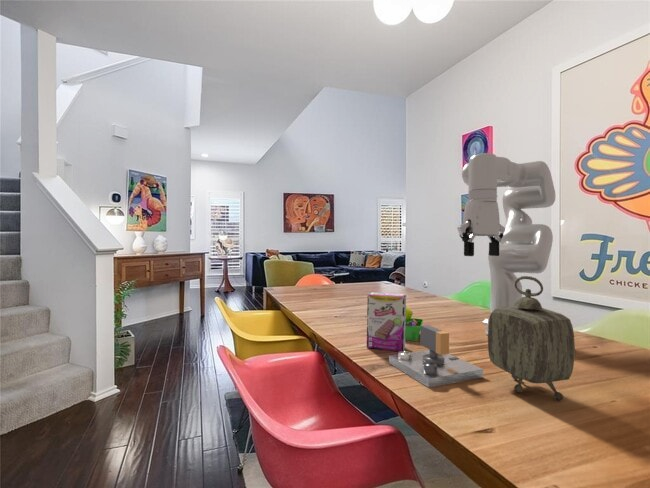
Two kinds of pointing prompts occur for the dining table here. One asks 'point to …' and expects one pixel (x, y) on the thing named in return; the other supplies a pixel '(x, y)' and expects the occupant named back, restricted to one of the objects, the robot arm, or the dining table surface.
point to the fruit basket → (412, 326)
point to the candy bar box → (386, 321)
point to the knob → (434, 343)
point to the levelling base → (441, 369)
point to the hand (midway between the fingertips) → (481, 255)
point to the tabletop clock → (531, 341)
